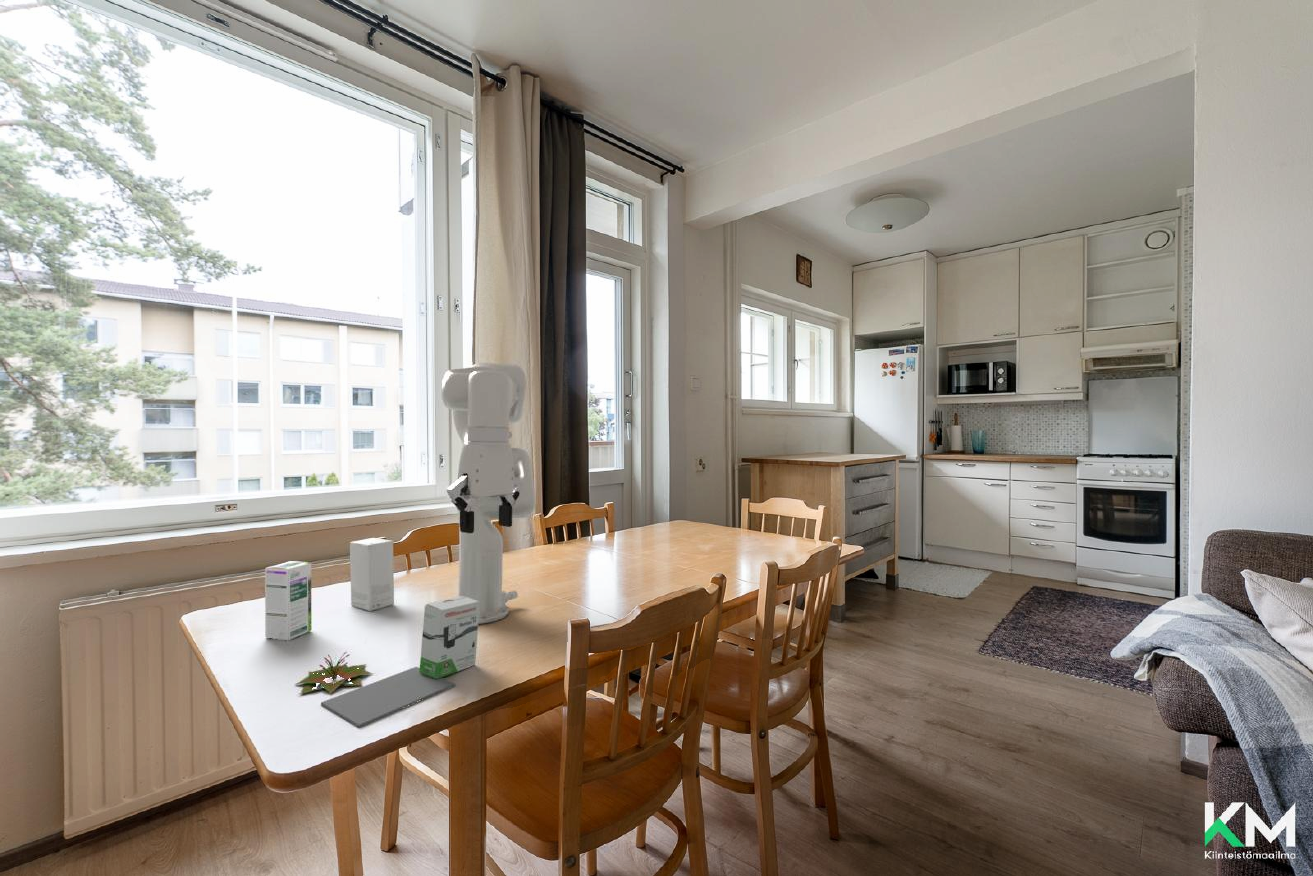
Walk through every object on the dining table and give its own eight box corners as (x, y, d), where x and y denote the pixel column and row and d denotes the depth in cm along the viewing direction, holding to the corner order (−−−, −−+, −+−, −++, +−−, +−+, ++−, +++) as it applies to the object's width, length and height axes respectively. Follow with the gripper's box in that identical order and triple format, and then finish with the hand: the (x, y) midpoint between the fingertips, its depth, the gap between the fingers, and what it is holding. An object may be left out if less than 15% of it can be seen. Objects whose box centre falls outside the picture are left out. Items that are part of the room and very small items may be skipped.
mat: (416, 668, 98) (416, 666, 98) (455, 686, 92) (455, 683, 92) (320, 705, 85) (321, 702, 85) (359, 727, 79) (359, 725, 79)
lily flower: (299, 673, 97) (299, 647, 97) (376, 662, 101) (376, 638, 101) (285, 705, 86) (285, 676, 86) (371, 691, 90) (372, 664, 90)
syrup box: (288, 641, 109) (289, 568, 109) (263, 638, 110) (264, 566, 110) (312, 631, 115) (312, 561, 115) (288, 628, 116) (288, 560, 116)
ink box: (436, 680, 93) (440, 609, 93) (417, 673, 96) (422, 603, 96) (477, 665, 100) (481, 599, 101) (459, 658, 103) (463, 594, 103)
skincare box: (394, 605, 133) (395, 540, 132) (367, 612, 127) (368, 545, 127) (374, 598, 137) (375, 536, 137) (348, 605, 132) (348, 540, 131)
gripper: (510, 436, 113) (509, 521, 114) (435, 436, 99) (433, 533, 99) (536, 437, 109) (534, 525, 109) (461, 437, 95) (459, 538, 95)
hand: (486, 528), depth 104 cm, fingers open, 8 cm apart
